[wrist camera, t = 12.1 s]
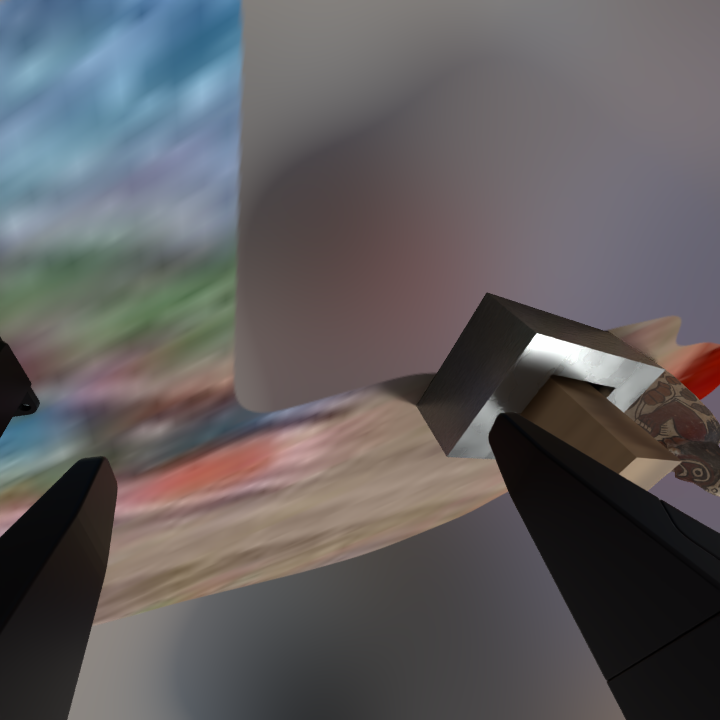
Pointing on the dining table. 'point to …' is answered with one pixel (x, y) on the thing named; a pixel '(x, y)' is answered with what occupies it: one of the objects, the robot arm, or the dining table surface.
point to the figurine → (681, 430)
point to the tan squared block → (599, 430)
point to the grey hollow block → (522, 371)
